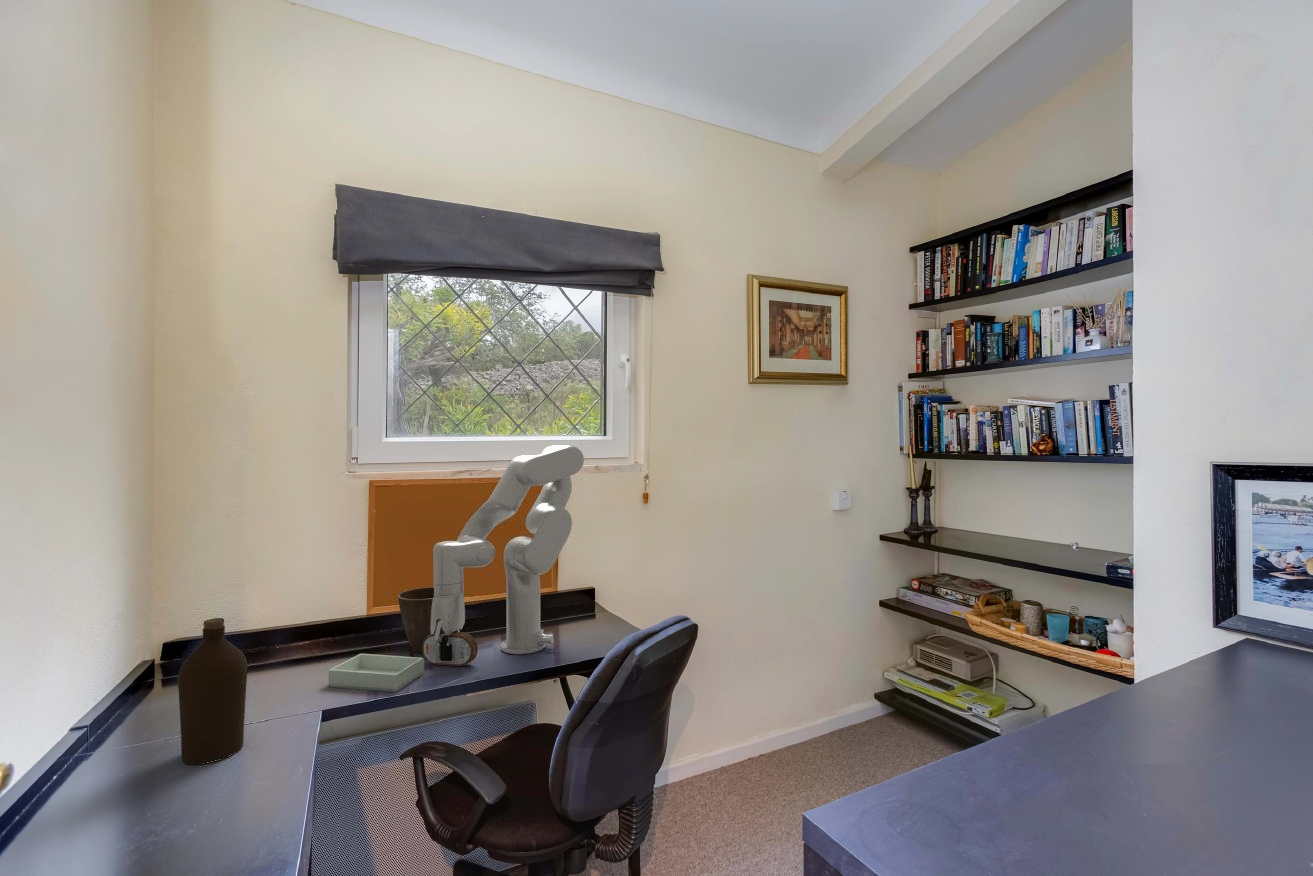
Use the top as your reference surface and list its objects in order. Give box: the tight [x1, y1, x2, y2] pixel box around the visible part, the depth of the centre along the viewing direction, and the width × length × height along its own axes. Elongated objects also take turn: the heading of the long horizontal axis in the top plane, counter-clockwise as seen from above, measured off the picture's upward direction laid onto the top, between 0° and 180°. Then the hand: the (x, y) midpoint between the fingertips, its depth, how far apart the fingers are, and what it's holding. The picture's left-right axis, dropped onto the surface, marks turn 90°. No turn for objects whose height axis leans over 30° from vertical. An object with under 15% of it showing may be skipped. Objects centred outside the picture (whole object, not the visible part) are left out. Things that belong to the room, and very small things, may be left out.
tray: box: [327, 653, 425, 693], centre depth 148 cm, size 18×12×4 cm, turn 79°
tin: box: [421, 631, 479, 667], centre depth 159 cm, size 15×3×8 cm, turn 79°
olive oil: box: [177, 617, 249, 766], centre depth 114 cm, size 11×11×25 cm
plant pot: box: [397, 586, 434, 654], centre depth 171 cm, size 15×15×16 cm
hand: (449, 657), depth 159 cm, fingers open, 2 cm apart
